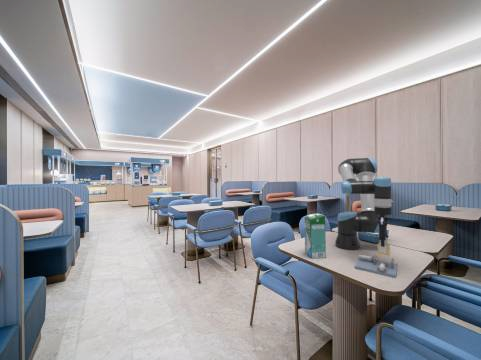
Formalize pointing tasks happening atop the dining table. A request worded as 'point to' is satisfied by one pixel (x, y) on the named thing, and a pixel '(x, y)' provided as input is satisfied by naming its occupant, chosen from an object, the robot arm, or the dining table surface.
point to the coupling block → (386, 249)
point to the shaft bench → (376, 266)
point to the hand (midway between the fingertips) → (383, 250)
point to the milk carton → (315, 236)
